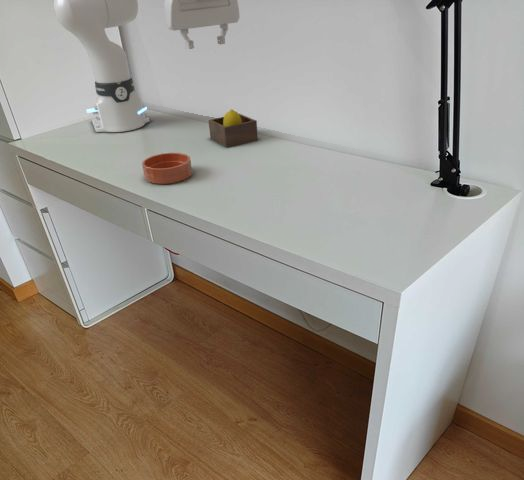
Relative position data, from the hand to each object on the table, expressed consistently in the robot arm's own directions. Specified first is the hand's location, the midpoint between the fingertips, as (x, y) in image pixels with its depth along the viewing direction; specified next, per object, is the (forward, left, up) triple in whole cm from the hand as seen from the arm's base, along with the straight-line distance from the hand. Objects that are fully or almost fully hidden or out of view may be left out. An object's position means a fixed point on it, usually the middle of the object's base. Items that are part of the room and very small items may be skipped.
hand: (206, 46), depth 134 cm
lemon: (+2, +5, -25) cm, 25 cm away
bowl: (+18, -23, -25) cm, 38 cm away
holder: (+2, +5, -25) cm, 25 cm away
